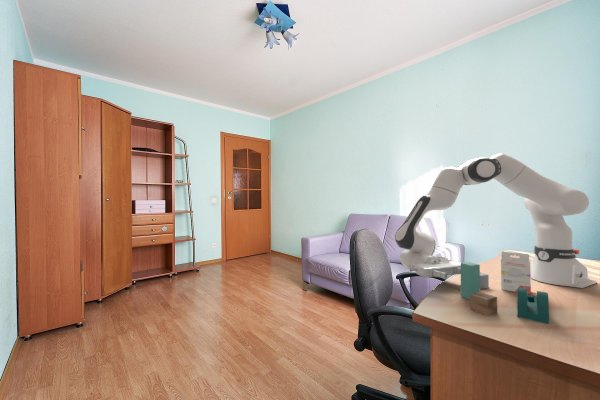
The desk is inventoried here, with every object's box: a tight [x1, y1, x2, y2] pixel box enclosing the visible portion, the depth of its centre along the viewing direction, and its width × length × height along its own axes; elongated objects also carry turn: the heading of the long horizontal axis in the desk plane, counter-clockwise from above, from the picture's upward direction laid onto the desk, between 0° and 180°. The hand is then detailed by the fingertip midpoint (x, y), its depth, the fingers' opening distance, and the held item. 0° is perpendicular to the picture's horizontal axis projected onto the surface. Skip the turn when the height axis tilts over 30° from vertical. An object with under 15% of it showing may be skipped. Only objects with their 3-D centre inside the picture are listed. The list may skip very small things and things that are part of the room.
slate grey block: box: [480, 272, 490, 289], centre depth 104 cm, size 5×5×5 cm
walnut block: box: [469, 291, 498, 317], centre depth 80 cm, size 5×5×5 cm
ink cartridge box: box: [500, 251, 532, 295], centre depth 98 cm, size 9×5×15 cm, turn 47°
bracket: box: [516, 288, 550, 325], centre depth 81 cm, size 18×7×8 cm, turn 139°
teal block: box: [460, 261, 481, 301], centre depth 91 cm, size 4×4×12 cm
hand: (456, 274), depth 97 cm, fingers open, 8 cm apart
